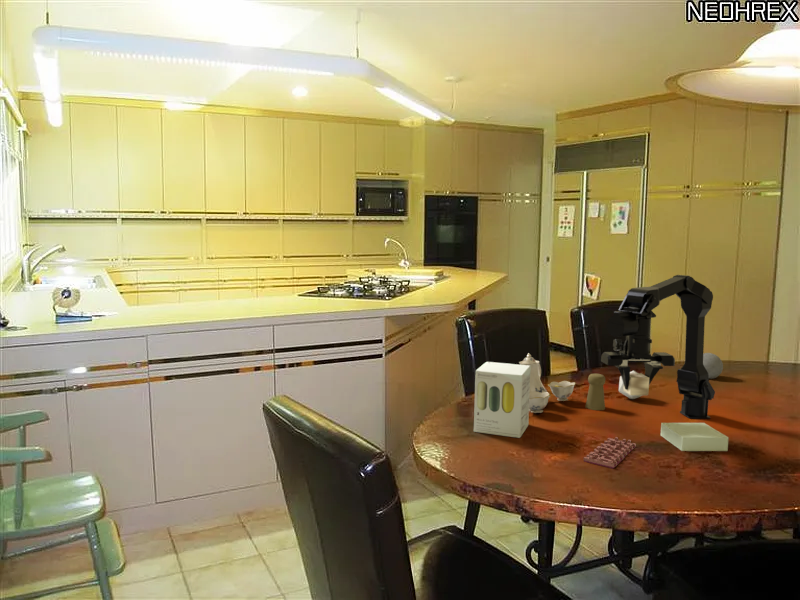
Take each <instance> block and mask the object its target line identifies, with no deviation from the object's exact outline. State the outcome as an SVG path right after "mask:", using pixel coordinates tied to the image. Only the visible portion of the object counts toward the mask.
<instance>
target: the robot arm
mask: <svg viewBox="0 0 800 600" xmlns="http://www.w3.org/2000/svg"><path fill="white" fill-rule="evenodd" d="M674 295H675V296H676V297H678V298H679V299H680V308H681V309H682V311H683V313H684V315H685V316H686V322H685V349H684V364H683V365H682V367H680V368H678V369H677V370H676V375H677V377H676V381H675V382H676V383H677V389H678V394H679V395H683V399H681V407H680V408H681V409H680V411H679V413H680V414H681V415H683V416H684V417H686V418H688V419H689V420H690V419H694V420H695V419H698V420H699V419H700V420H701V419H702V420H703V419H704V420H705V419H709V420H710V419H711V416H709V415H708V412H709V410H708V409H709V401H712V399H715V398H714V397H715V394H716V391H715V389H714V388H713V386H712V384H711V383H710V379H709V375H708V372H707V370H706V368H705V367H704V365H703V354H704V348H705V347H704V346H705V345H704V344H705V325H706V323H705V321H706V318H705V317H706V316H707V314H708V313H709V311H710V310H711V309H712V303H713V299H714V294H713V292H712V291H711V290H710V288H709V287H707V286H706V285H704V284H703V283H701V282H699V281H697V280H695V279H694V277H692V276H691V275H685V274H683V275H682V274H675V275H673V276H672V277H670V278H668V279H665V280H663V281H660V282H658V283H655V284H653V285H651V286H643V287H642V286H641V287H640V286H638V287H632V288H629V290H628V291H627V293H626V295H625V296H624V298H623V300H622V302H621V304H620V306H619V308H618V310H617V311H616V310H615V311H613V313H612V314H613V315H612V316H610V317H609V318H608V320H607V323H606V330H607V332H608V334H609V335H610V336H612V337H613V338H615V339H613V341H612V342H613V343H612V348H613V349H612V350H613V351H604V352H603V353H602V354H601V356H600V357H601V358H600V362H601V363H603V364H605V366H606V365H607V366H610V367H611V366H612V367H616V368H617V369H618V371H619V374H620V376H621V377H622V380H623V383H624V387H625V389H626V390H628V386H629V377H630V372H631V367H630V366H629V365H628V363H643V364H644V375H646V376H647V377H649V386H650V384H651V383H652V381H653V379H654V377H656V375H657V374H658V372H659V371H660V370H663V369H664V367H675V365H676V364H675V363H676V359H675V357H674V355H672V354H670V353H667V352H664V351H662V352H661V351H659V352H653V353H650V345H651V344H652V343H653V339H651V331H652V330H651V327H652V319H653V318H656V317H657V315H656V314H655V313H654V312H653V310H654V309H656V308H658V306H659V305H660V302H661V301H663V300H664V299H665V300H666V299H667V298H670V297H671V296H674ZM618 337H619V338H618ZM621 337H625V341H623V340H622V338H621ZM614 351H615V352H614ZM618 351H619V352H618Z"/></svg>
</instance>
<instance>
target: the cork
mask: <svg viewBox="0 0 800 600" xmlns="http://www.w3.org/2000/svg"><path fill="white" fill-rule="evenodd" d="M587 382H588V384H589V387H588V392H587V396H586V401H585V406H584V407H585V409H588V410H592V411H604V410H606V405H605V404H606V403H605V389H604V385H605V384H606V377H605V376H604V374H600V373H590V374H589V375H588V378H587Z"/></svg>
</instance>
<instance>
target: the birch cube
mask: <svg viewBox="0 0 800 600" xmlns="http://www.w3.org/2000/svg"><path fill="white" fill-rule="evenodd" d="M649 388H650V385H649V377H647V376H646V375H645V373H640V372H637V373H630V377H629V386H628V390H626V389H625V387H623V391H625V392H626V393H628V394H629V395H643V396H649V390H650V389H649Z"/></svg>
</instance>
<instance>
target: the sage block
mask: <svg viewBox="0 0 800 600" xmlns="http://www.w3.org/2000/svg"><path fill="white" fill-rule="evenodd" d="M660 437H662V438H663V439H664V440H666V441H667V442H669V444H672V446H674V447H675V448H677V449H678V450H680V451H681V452H685V451H686V452H712V451H713V452H728V449H729V436H727V435H726V434H724V433H722V432H720V431H718V430H717V429H715V428H713V427H712V426H710V425H709V424H707V423H705V422H661V424H660Z"/></svg>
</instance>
